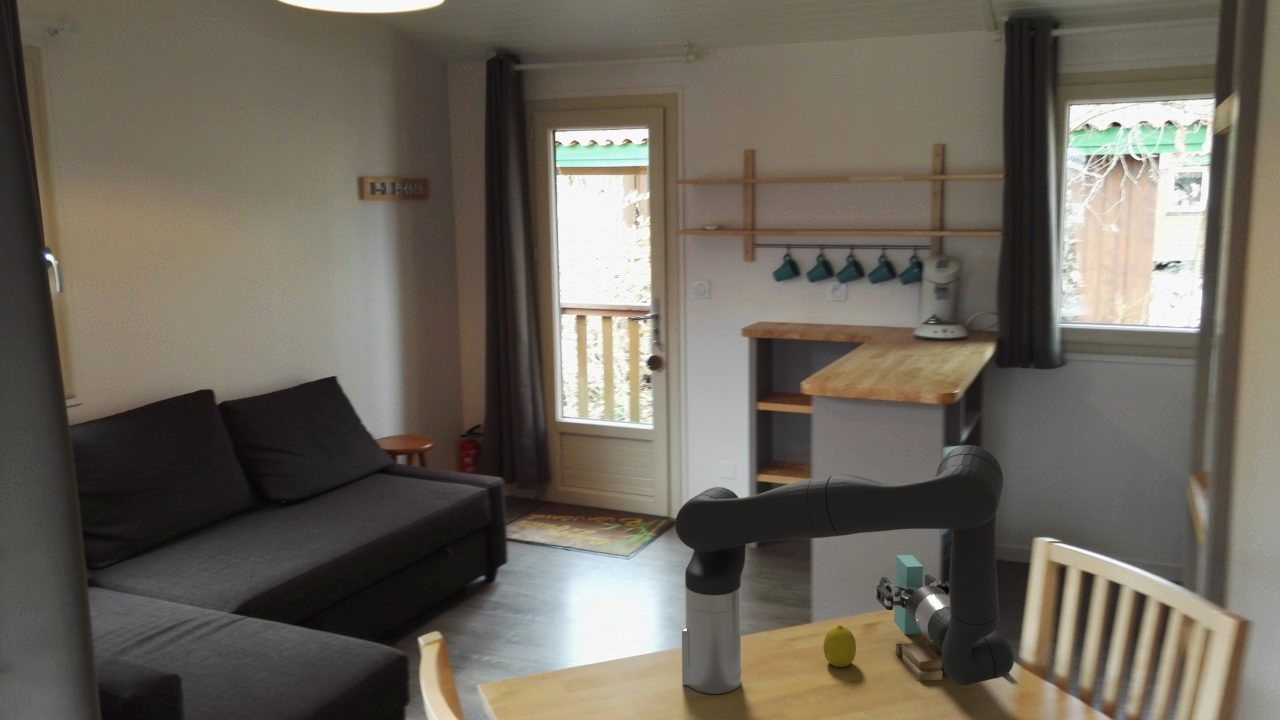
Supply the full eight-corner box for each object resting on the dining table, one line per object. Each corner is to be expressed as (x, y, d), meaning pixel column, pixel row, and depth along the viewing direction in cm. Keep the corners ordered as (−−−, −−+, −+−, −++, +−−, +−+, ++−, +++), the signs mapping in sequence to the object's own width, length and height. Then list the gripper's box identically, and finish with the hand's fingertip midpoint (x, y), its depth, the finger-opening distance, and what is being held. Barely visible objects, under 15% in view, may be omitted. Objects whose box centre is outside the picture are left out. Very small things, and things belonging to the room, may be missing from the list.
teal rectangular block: (904, 639, 185) (907, 566, 183) (893, 625, 191) (896, 555, 189) (920, 638, 186) (923, 566, 183) (909, 625, 191) (911, 555, 189)
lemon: (861, 667, 174) (862, 624, 173) (845, 679, 170) (846, 634, 169) (833, 658, 178) (833, 616, 177) (817, 670, 174) (817, 626, 173)
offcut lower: (918, 680, 167) (919, 672, 167) (902, 659, 175) (902, 651, 175) (942, 679, 168) (942, 671, 167) (924, 658, 175) (925, 650, 175)
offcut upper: (919, 670, 168) (919, 661, 168) (902, 652, 175) (902, 643, 174) (941, 668, 168) (942, 659, 168) (923, 650, 175) (923, 641, 175)
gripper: (978, 592, 173) (942, 559, 189) (897, 596, 171) (867, 563, 188) (976, 633, 174) (940, 597, 190) (896, 638, 173) (867, 601, 189)
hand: (904, 580), depth 189 cm, fingers open, 8 cm apart
